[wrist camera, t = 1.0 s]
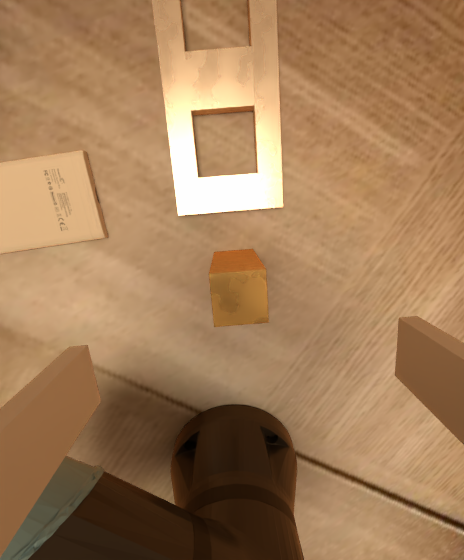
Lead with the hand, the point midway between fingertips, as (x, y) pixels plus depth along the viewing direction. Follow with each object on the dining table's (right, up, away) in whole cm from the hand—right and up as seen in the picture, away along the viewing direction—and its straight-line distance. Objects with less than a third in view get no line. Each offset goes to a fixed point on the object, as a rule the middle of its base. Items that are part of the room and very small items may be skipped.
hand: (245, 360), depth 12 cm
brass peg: (0, +5, +18) cm, 18 cm away
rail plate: (-2, +21, +14) cm, 25 cm away
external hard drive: (-20, +11, +17) cm, 28 cm away
